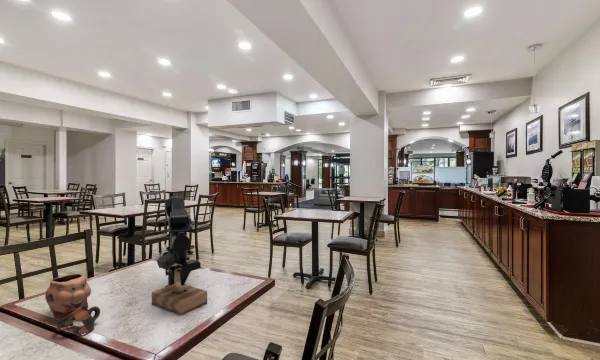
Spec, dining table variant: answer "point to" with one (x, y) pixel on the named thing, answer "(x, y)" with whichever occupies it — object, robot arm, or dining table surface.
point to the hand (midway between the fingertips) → (179, 284)
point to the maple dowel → (178, 283)
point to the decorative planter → (67, 295)
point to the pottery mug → (80, 319)
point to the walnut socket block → (179, 299)
